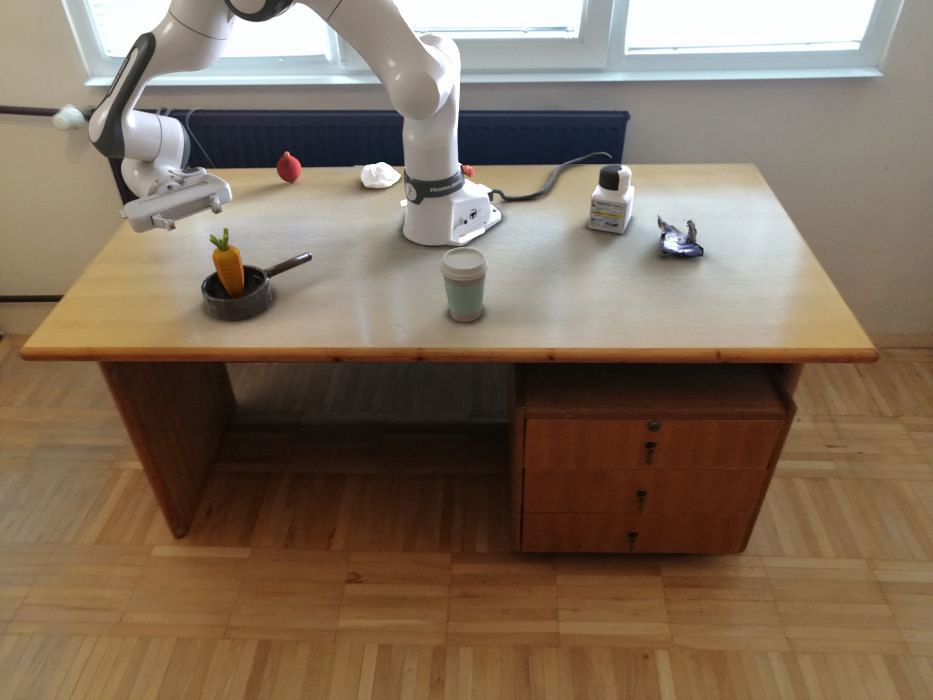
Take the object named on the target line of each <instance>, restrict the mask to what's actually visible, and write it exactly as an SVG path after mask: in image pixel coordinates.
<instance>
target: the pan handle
mask: <svg viewBox="0 0 933 700" xmlns="http://www.w3.org/2000/svg"><path fill="white" fill-rule="evenodd" d="M312 259H313V254H312V253H311V252H309V251H307V252H304V253H302V254H299V255H297V256H295V257H292V258H290V259H287V260H284V261H282V262H280V263H277V264H275V265H273V266H270V267H268V268H264V269H262V270H263V271H265V272H266V274H267V277H268V280H270V279H271V278H273V277H275V276H278V275H280V274H282V273H284V272H288V271H290V270H292V269H294V268H297V267H299V266H301V265H304V264H306V263H309V262H311V261H312ZM259 273H260V272H259ZM260 274H261V273H260ZM260 277H262V276H261V275H260ZM262 278H263V277H262Z"/></svg>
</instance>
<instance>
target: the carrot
mask: <svg viewBox="0 0 933 700" xmlns="http://www.w3.org/2000/svg"><path fill="white" fill-rule="evenodd" d="M222 229H223V235H222V238H217V237H216V236H215V235H214V234H213V233H211V234H209V242H210V243H212V244H213V245H214V246H215V247H216V248H215V249H214V250H213V253H212V256H211V258H212V261H213V264H214V268H215V270H216V271H217V273H218V276H219V278H220V280H221V282H222V284H223V285H224V287H225V289H226V290H227V291H228V292H229V294H230V295H232V296H233V297H234V298H235V299H237V298H241V295H242V292H243V287H244V270H243V265H244V264H243V260H242V255H241V251H240V249H239V248H238V247H236V246H234V245H232V244H229V238H230V237H229V229H228V227H223V228H222ZM216 271H215V272H216Z"/></svg>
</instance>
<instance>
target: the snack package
mask: <svg viewBox="0 0 933 700" xmlns="http://www.w3.org/2000/svg"><path fill="white" fill-rule="evenodd" d="M676 220H677V221H678V219H676ZM683 221H685V219H683ZM686 224H687V225H686V227H687V228H688V229H687V234H686V233H683V232H681V231H680V230H679V229H678V228H677V227H676V226H674V224H673V225H672V224H671V225H670V224H669V223H668V222H667V221H665V220H664V219H662V217H661V216H660V215H659V214H657V226H658V228H659V229H658V230H659V231H660V233H661V235H660V243H661V250H662V254H663V255H667V254H678V255H680V258H682V259H684V258H688V259H691V258H693V259H694V258H697V257H703V256H704V255H705V250H704V247H702V245H700V244H699V243H697V233H698V231H697V228H696V224H695V222H694V221H692V219H689V220H687V221H686ZM663 255H662V257H663V258H665V256H663ZM678 258H679V257H678Z"/></svg>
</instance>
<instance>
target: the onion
mask: <svg viewBox="0 0 933 700" xmlns="http://www.w3.org/2000/svg"><path fill="white" fill-rule="evenodd" d="M276 173H277V175H278V176H279V178H280V180H282V181H284V182H286V183H289V184H294V183H295V182H296V181H297V180H298V179H299V177H300V176H301V175H302V165H301V163H300V161H299V159H297V158H296V157H294V156H292V155H290V152H289V151H285V152H284V153H283V155H282V157H280V159H278V161H277V164H276Z"/></svg>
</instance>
